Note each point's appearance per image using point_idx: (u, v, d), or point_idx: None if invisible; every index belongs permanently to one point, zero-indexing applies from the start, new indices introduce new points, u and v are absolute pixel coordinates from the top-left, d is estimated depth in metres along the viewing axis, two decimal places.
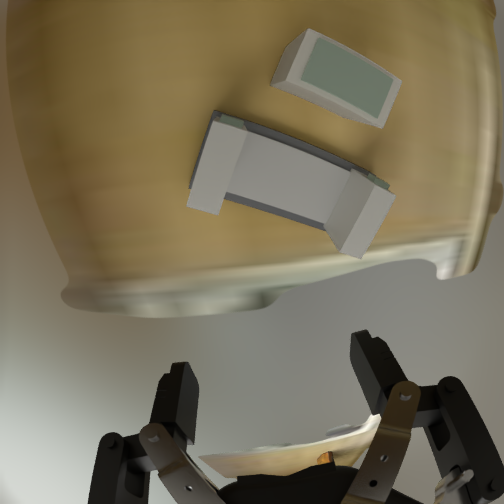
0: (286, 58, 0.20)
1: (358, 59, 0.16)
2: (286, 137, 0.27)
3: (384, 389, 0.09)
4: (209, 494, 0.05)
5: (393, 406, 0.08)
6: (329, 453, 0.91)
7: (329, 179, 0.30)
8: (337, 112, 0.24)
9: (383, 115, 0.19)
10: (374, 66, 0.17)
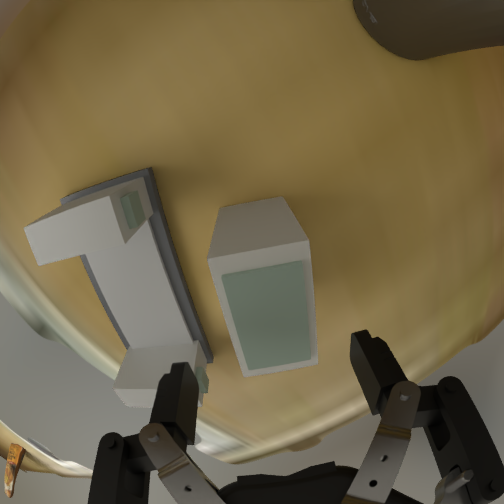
0: (256, 218, 0.17)
1: (305, 318, 0.15)
2: (172, 264, 0.22)
3: (384, 389, 0.09)
4: (209, 494, 0.05)
5: (393, 406, 0.08)
6: (23, 450, 0.55)
7: (168, 329, 0.25)
8: None
9: (259, 371, 0.17)
10: (311, 334, 0.16)
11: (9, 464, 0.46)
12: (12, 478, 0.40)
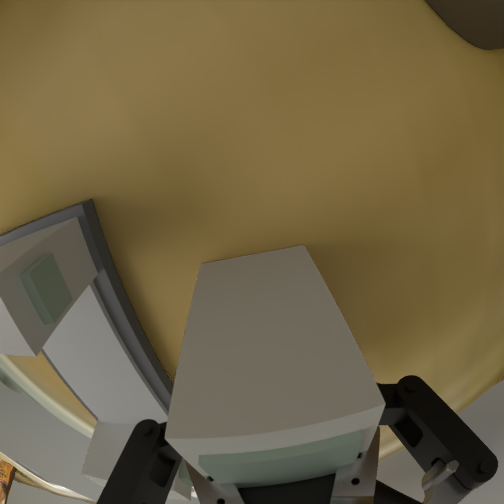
0: (265, 308, 0.09)
1: None
2: (135, 344, 0.14)
3: None
4: (230, 488, 0.06)
5: None
6: (13, 468, 0.44)
7: (142, 411, 0.16)
8: None
9: None
10: None
11: (0, 482, 0.35)
12: (4, 497, 0.29)
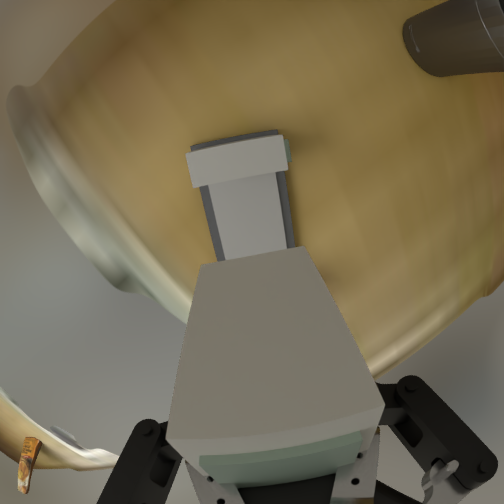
0: (265, 309, 0.09)
1: None
2: (286, 204, 0.29)
3: None
4: (230, 488, 0.06)
5: None
6: (39, 443, 0.60)
7: None
8: None
9: None
10: None
11: (24, 458, 0.50)
12: (28, 473, 0.45)
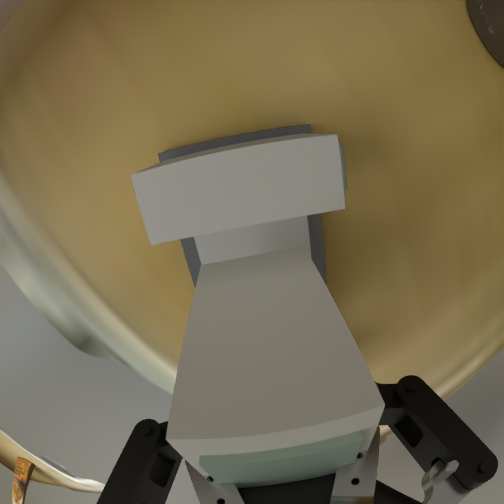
0: (265, 310, 0.09)
1: None
2: (320, 249, 0.18)
3: None
4: (230, 488, 0.06)
5: None
6: (32, 465, 0.49)
7: None
8: None
9: None
10: None
11: (17, 480, 0.39)
12: (21, 495, 0.34)
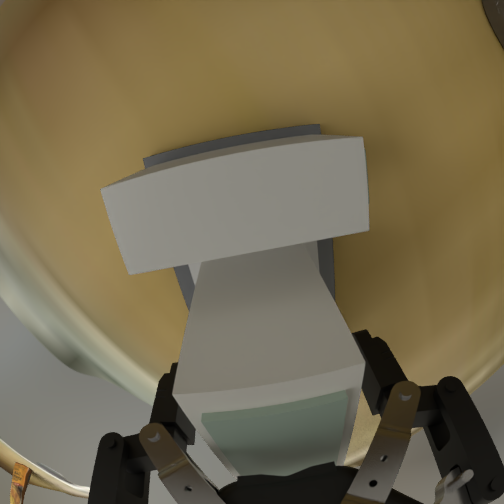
0: (261, 287, 0.10)
1: (336, 447, 0.08)
2: (330, 267, 0.16)
3: (384, 389, 0.09)
4: (209, 494, 0.05)
5: (393, 406, 0.08)
6: (29, 470, 0.46)
7: None
8: None
9: None
10: (339, 454, 0.09)
11: (15, 485, 0.37)
12: (19, 501, 0.31)
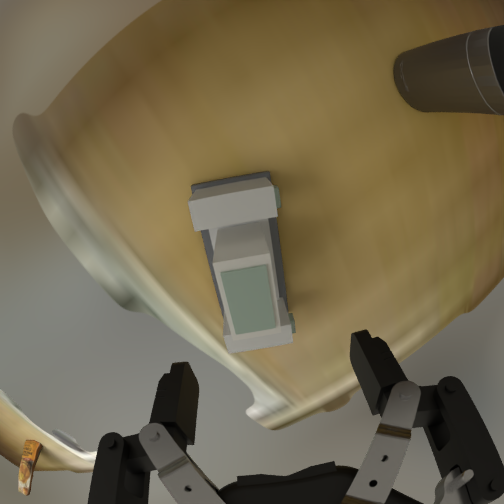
0: (241, 238, 0.28)
1: (269, 299, 0.25)
2: (277, 238, 0.33)
3: (384, 389, 0.09)
4: (209, 494, 0.05)
5: (393, 406, 0.08)
6: (40, 445, 0.61)
7: None
8: None
9: (242, 336, 0.27)
10: (274, 310, 0.26)
11: (25, 461, 0.51)
12: (29, 475, 0.46)
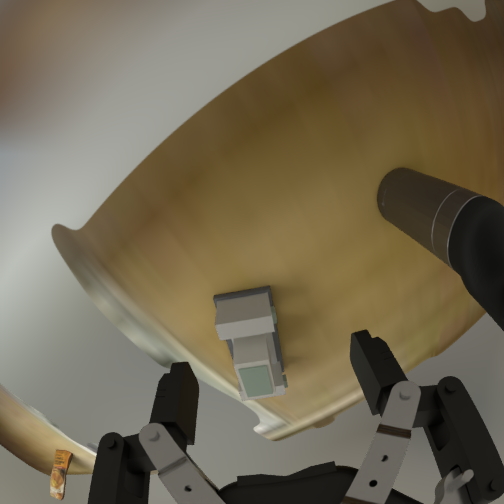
0: (250, 340, 0.40)
1: (268, 381, 0.38)
2: (275, 328, 0.46)
3: (384, 389, 0.09)
4: (209, 494, 0.05)
5: (393, 406, 0.08)
6: (71, 454, 0.76)
7: None
8: None
9: (252, 397, 0.40)
10: (272, 385, 0.39)
11: (57, 469, 0.67)
12: (62, 481, 0.61)
